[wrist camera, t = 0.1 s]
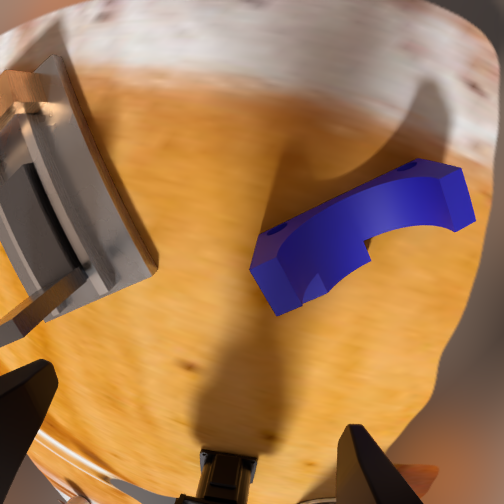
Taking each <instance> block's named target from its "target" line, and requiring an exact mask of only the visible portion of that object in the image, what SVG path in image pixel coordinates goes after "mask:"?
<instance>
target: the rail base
mask: <svg viewBox="0 0 504 504" xmlns="http://www.w3.org/2000/svg"><path fill="white" fill-rule="evenodd" d="M32 162H33V163H34V165H35V168H36V170H37V173H38V175H39V178H40V180H41V182H42V185H43V187H44V189H45V192H46V194H47V196H48V198H49V201H50V203H51V205H52V207H53V209H54V212H55V214H56V216H57V218H58V220H59V222H60V224H61V226H62V228H63V230H64V232H65V234H66V236H67V238H68V240H69V242H70V244H71V246H72V248H73V250H74V252H75V253H76V255H77V257H78V259H79V261H80V263H81V264H82V266H83V268H84V270H85V272H86V273H87V275H88V277H89V278H88V279H87V282H86V283H84V284H83V285H82V286H81V287H80V288H78V289H77V290H76V291H75V292H74V293H73V294H71V295H70V296H69V297H68V298H67V299H66V300H64V301H63V302H62V303H61V304H60V305H59V306H58V307H56V308H55V309H54V310H53V311H52V312H51V313H50V314H49V315H47V316H46V317H45V318H44V319H43V320H44V321H45V323H46V322H48V321H50V320H52V319H55V318H57V317H59V316H62V315H64V314H66V313H68V312H71V311H73V310H75V309H77V308H80V307H82V306H84V305H86V304H89V303H91V302H93V301H96V300H98V299H100V298H103V297H105V296H107V295H109V294H112V293H114V292H116V291H119V290H121V289H123V288H126V287H128V286H130V285H133V284H135V283H137V282H140V281H142V280H144V279H147V278H149V277H151V276H153V275H154V274H155V272H156V271H157V270H158V268H157V266H156V264H155V263H154V261H153V259H152V257H151V255H150V254H149V252H148V250H147V248H146V246H145V244H144V242H143V241H142V239H141V237H140V235H139V233H138V231H137V229H136V227H135V225H134V223H133V221H132V219H131V218H130V216H129V214H128V212H127V210H126V208H125V206H124V204H123V202H122V200H121V198H120V195H119V193H118V191H117V189H116V187H115V185H114V183H113V181H112V179H111V177H110V175H109V172H108V170H107V168H106V166H105V164H104V162H103V159H102V157H101V155H100V153H99V150H98V148H97V146H96V144H95V141H94V139H93V137H92V134H91V132H90V130H89V127H88V125H87V123H86V120H85V118H84V115H83V113H82V110H81V108H80V105H79V103H78V100H77V98H76V95H75V93H74V90H73V87H72V85H71V82H70V79H69V77H68V74H67V71H66V68H65V66H64V63H63V60H62V57H61V56H57V55H53V54H52V55H51V56H50V57H49V58H48V59H47V60H46V61H45V62H44V63H42V64H41V65H40V66H39V67H38V68H37V69H36V70H35V71H34V72H33V73H32V72H24V71H14V70H5V71H4V72H3V73H2V74H1V75H0V188H1V187H2V186H3V185H4V184H5V182H6V181H7V180H8V179H9V178H10V177H11V176H12V175H13V174H14V173H15V172H16V171H17V170H18V169H19V168H20V167H21V166H22V165H23V164H27V163H32ZM0 241H1V243H2V245H3V247H4V249H5V251H6V253H7V256H8V258H9V260H10V262H11V264H12V266H13V267H14V269H15V271H16V273H17V275H18V277H19V279H20V281H21V283H22V284H23V286H24V288H25V290H26V291H27V293H28V295H29V296H31V295H32V294H33V293H35V292H36V291H37V290H39V289H41V287H40V285H39V283H38V281H37V280H36V278H35V276H34V274H33V272H32V270H31V269H30V267H29V265H28V263H27V261H26V259H25V257H24V255H23V253H22V251H21V249H20V247H19V245H18V243H17V241H16V239H15V237H14V234H13V232H12V230H11V228H10V226H9V223H8V221H7V219H6V216H5V214H4V212H3V209H2V207H1V204H0Z"/></svg>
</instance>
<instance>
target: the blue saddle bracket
mask: <svg viewBox="0 0 504 504" xmlns="http://www.w3.org/2000/svg"><path fill="white" fill-rule="evenodd" d="M475 221H476V219H475V214H474V210H473V207H472V203H471V199H470V195H469V192H468V188H467V185H466V182H465V178H464V175H463V172H462V169H461V168H459V167H455V166H451V165H447V164H443V163H439V162H434V161H430V160H425V159H420V158H417V159H415V160H413V161H411V162H409V163H407V164H405V165H403V166H400V167H398V168H396V169H394V170H392V171H390V172H388V173H386V174H383V175H381V176H379V177H377V178H375V179H373V180H371V181H369V182H367V183H365V184H363V185H360V186H358V187H356V188H354V189H352V190H350V191H348V192H346V193H344V194H342V195H340V196H337V197H335V198H333V199H331V200H329V201H327V202H325V203H323V204H321V205H319V206H317V207H315V208H313V209H311V210H308V211H306V212H304V213H302V214H300V215H298V216H296V217H294V218H292V219H290V220H288V221H286V222H284V223H282V224H280V225H278V226H276V227H274V228H272V229H270V230H267V231H265V232H263V233H261V234H259V236H258V240H257V243H256V247H255V251H254V254H253V258H252V261H251V265H250V269H249V270H250V272H251V274H252V275H253V277H254V279H255V281H256V282H257V284H258V286H259V287H260V289H261V291H262V293H263V294H264V296H265V298H266V299H267V301H268V303H269V304H270V306H271V308H272V310H273V311H274V313H275V315H276V316H279V315H282V314H284V313H287V312H289V311H291V310H294V309H296V308H298V307H301V306H303V303H306V302H308V301H310V300H313V299H315V298H317V297H320V296H322V295H324V294H326V293H328V292H329V291H330V290H331V289H332V288H333V287H334V286H335V285H336V284H337V283H338V282H339V281H340V280H342V279H343V278H344V277H345V276H347V275H348V274H350V273H351V272H353V271H354V270H356V269H357V268H359V267H361V266H362V265H364V264H366V263H368V262H370V261H371V259H370V256H369V254H368V251H367V249H366V247H365V244H364V242H363V241H364V240H367V239H369V238H371V237H374V236H376V235H379V234H382V233H385V232H388V231H391V230H394V229H399V228H403V227H409V226H417V225H433V226H440V227H444V228H447V229H450V230H452V231H453V232H457V231H459V230H460V229H462V228H464V227H466V226H468V225H470V224H471V223H473V222H475Z"/></svg>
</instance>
